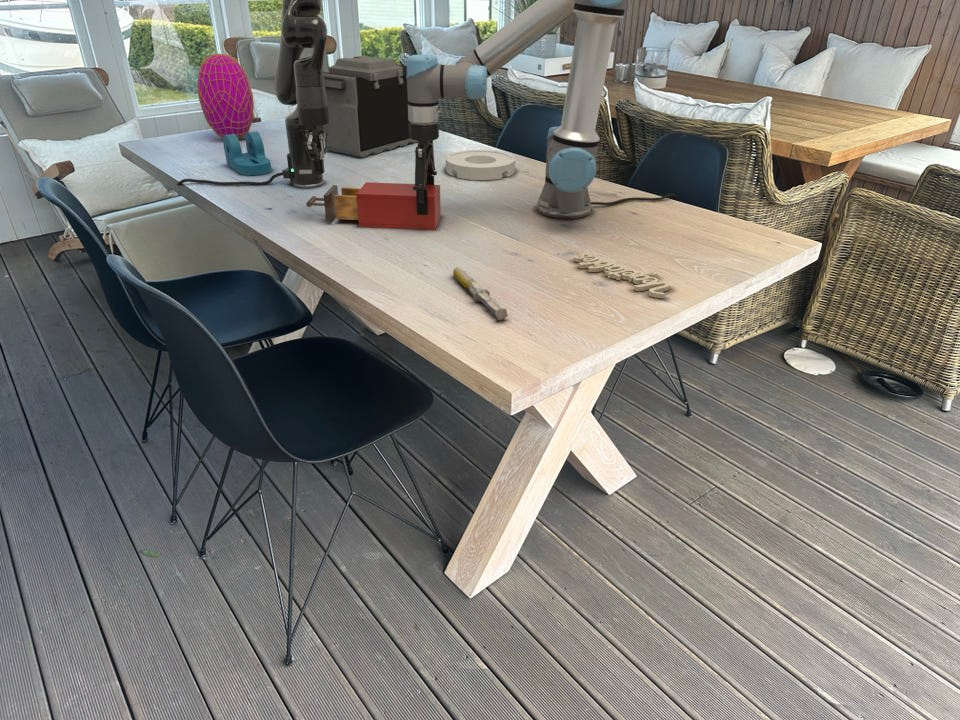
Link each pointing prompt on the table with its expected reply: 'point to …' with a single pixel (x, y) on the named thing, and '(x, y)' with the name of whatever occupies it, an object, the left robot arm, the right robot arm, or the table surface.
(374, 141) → the cooler box
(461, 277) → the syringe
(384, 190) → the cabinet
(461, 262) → the table surface
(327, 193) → the drawer
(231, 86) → the decorative egg
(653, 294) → the decorative sign
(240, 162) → the camera mount
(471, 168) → the ashtray
